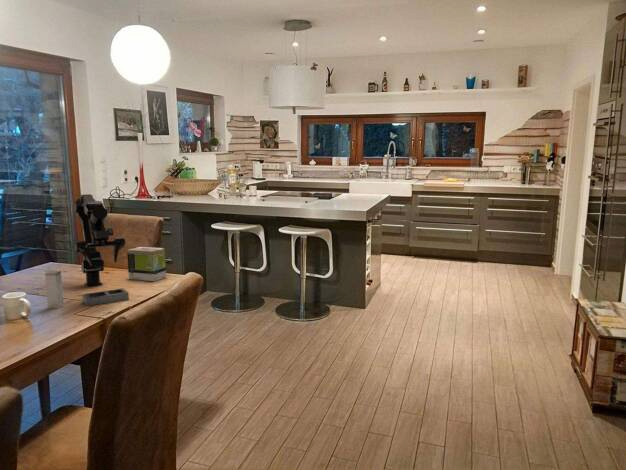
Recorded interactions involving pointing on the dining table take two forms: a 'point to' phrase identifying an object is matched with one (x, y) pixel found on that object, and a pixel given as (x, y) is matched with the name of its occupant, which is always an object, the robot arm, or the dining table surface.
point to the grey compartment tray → (105, 297)
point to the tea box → (146, 263)
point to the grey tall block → (54, 289)
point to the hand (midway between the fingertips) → (103, 263)
